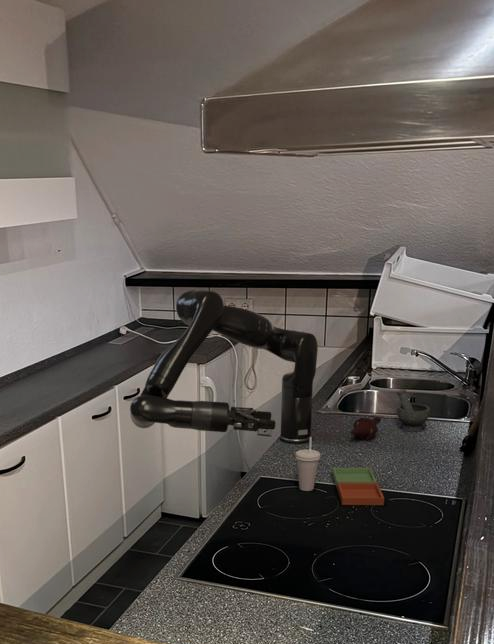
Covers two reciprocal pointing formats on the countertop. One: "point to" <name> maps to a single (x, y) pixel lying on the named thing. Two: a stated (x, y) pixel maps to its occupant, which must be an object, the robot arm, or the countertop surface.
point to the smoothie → (307, 467)
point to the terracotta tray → (360, 494)
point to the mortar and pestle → (411, 413)
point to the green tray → (353, 475)
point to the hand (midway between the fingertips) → (273, 420)
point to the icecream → (365, 427)
